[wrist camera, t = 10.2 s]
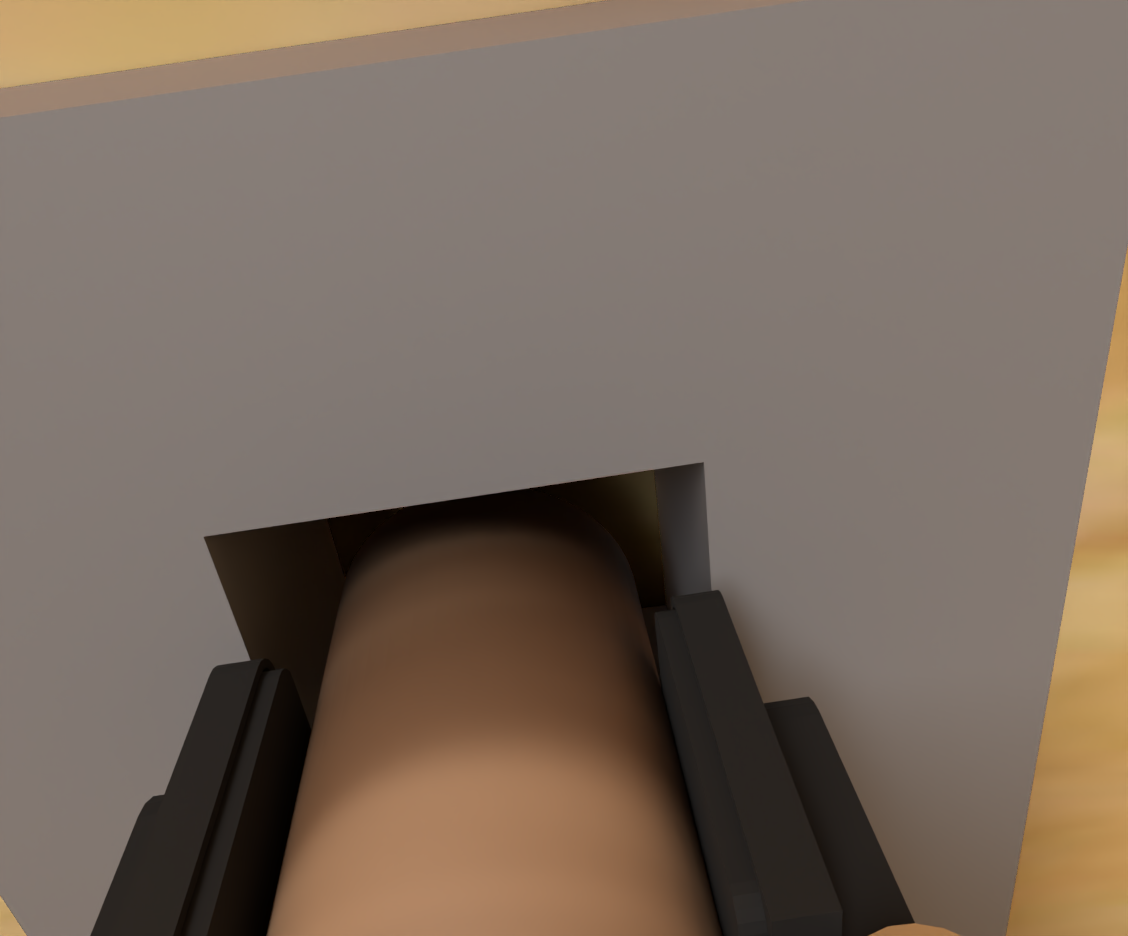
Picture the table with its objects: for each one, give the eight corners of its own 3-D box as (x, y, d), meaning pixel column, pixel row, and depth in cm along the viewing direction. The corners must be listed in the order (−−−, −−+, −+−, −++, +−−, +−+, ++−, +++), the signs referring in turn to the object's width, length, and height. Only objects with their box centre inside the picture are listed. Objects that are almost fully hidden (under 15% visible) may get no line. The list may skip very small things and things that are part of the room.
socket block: (-149, 110, 12) (-470, 186, 8) (945, -49, 12) (1179, -55, 8) (284, 1018, 21) (240, 1256, 17) (879, 927, 21) (969, 1143, 18)
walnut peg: (306, 511, 12) (-67, 1689, 4) (622, 464, 12) (925, 1532, 4) (378, 740, 13) (232, 1831, 6) (647, 700, 14) (880, 1728, 6)
